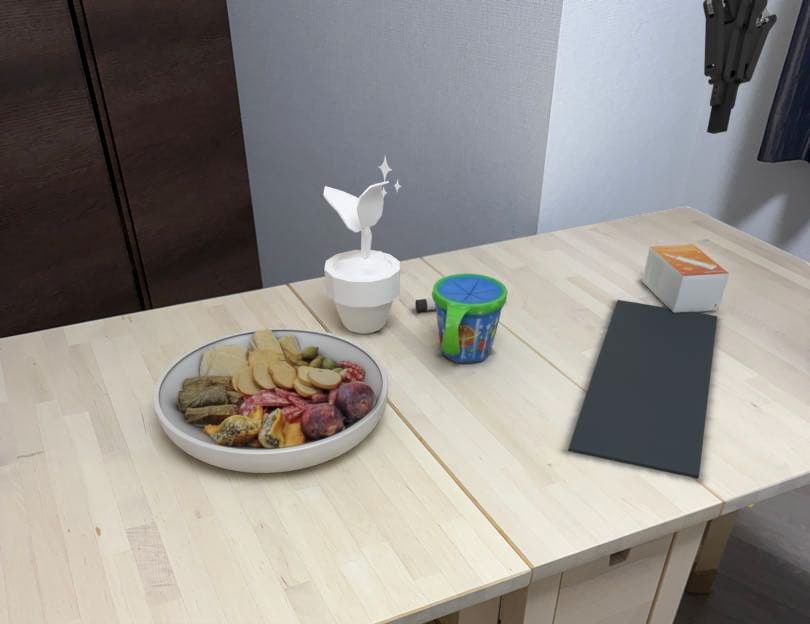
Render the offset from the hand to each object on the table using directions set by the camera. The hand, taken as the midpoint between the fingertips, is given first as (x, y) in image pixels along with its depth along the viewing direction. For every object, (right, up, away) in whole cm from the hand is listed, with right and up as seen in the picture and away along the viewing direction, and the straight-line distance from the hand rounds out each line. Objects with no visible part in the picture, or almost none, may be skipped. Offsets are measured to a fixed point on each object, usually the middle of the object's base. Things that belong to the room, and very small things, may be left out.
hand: (716, 131), depth 116 cm
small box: (-3, -15, +13) cm, 20 cm away
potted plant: (-55, -30, +2) cm, 63 cm away
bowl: (-66, -47, -16) cm, 83 cm away
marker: (-39, -25, +7) cm, 47 cm away
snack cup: (-40, -36, -4) cm, 53 cm away
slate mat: (-13, -40, -8) cm, 43 cm away
